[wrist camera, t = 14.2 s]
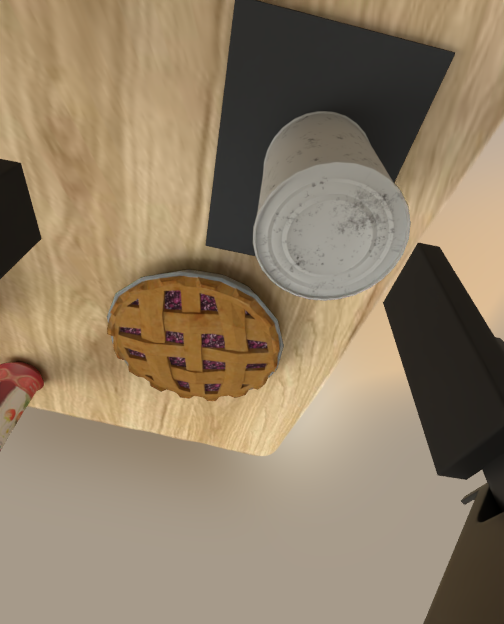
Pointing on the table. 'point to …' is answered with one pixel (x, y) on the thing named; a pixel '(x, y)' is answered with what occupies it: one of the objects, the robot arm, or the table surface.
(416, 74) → the back mat
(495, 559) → the robot arm
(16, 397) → the liquor
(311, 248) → the tin can
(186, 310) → the pie
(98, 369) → the table surface
